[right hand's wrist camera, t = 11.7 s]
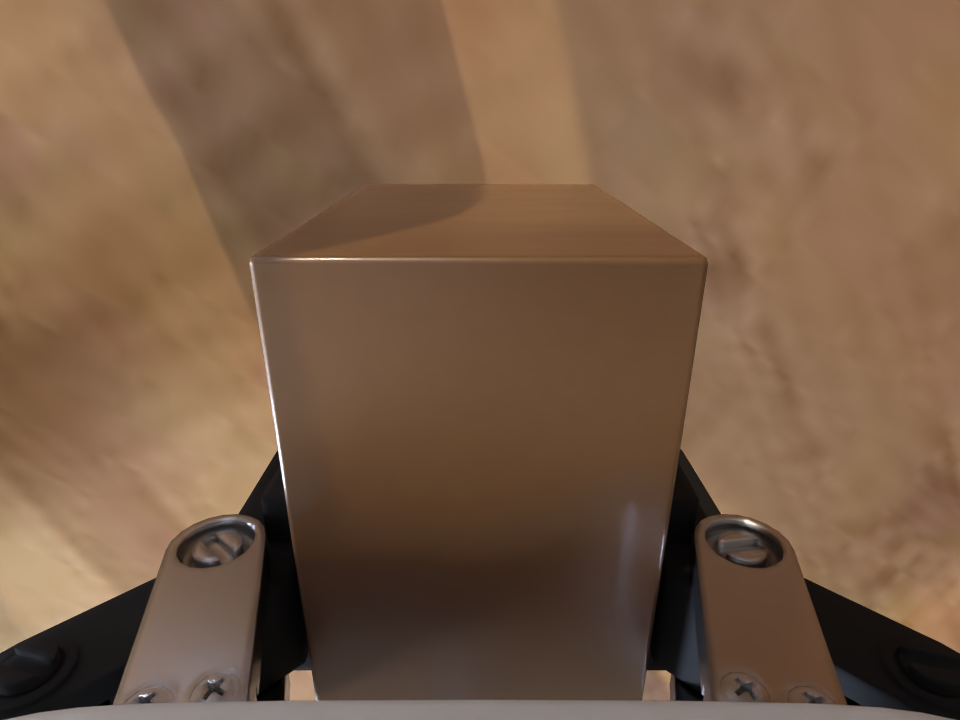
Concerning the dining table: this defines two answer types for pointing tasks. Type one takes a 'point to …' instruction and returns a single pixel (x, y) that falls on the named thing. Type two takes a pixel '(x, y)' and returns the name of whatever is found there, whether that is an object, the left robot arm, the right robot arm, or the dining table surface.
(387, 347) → the beam
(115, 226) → the dining table surface
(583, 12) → the dining table surface
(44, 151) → the dining table surface
